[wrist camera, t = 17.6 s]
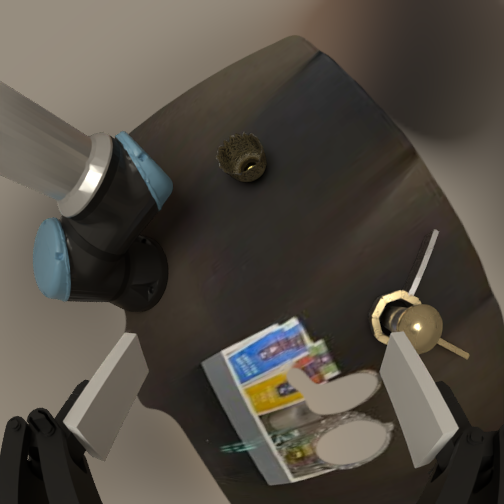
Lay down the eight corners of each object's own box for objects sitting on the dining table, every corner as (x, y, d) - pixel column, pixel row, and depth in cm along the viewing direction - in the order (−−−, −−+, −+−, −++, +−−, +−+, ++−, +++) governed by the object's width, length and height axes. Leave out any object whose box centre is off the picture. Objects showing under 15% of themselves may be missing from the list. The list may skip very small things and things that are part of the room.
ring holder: (383, 382, 35) (387, 393, 30) (351, 263, 40) (353, 258, 35) (457, 351, 32) (470, 357, 27) (427, 235, 36) (437, 227, 32)
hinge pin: (381, 337, 37) (404, 361, 22) (373, 307, 38) (393, 314, 23) (409, 326, 35) (446, 343, 20) (401, 297, 37) (436, 297, 22)
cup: (280, 182, 45) (268, 161, 38) (241, 198, 47) (222, 181, 40) (266, 148, 47) (253, 124, 40) (230, 164, 49) (211, 144, 42)
